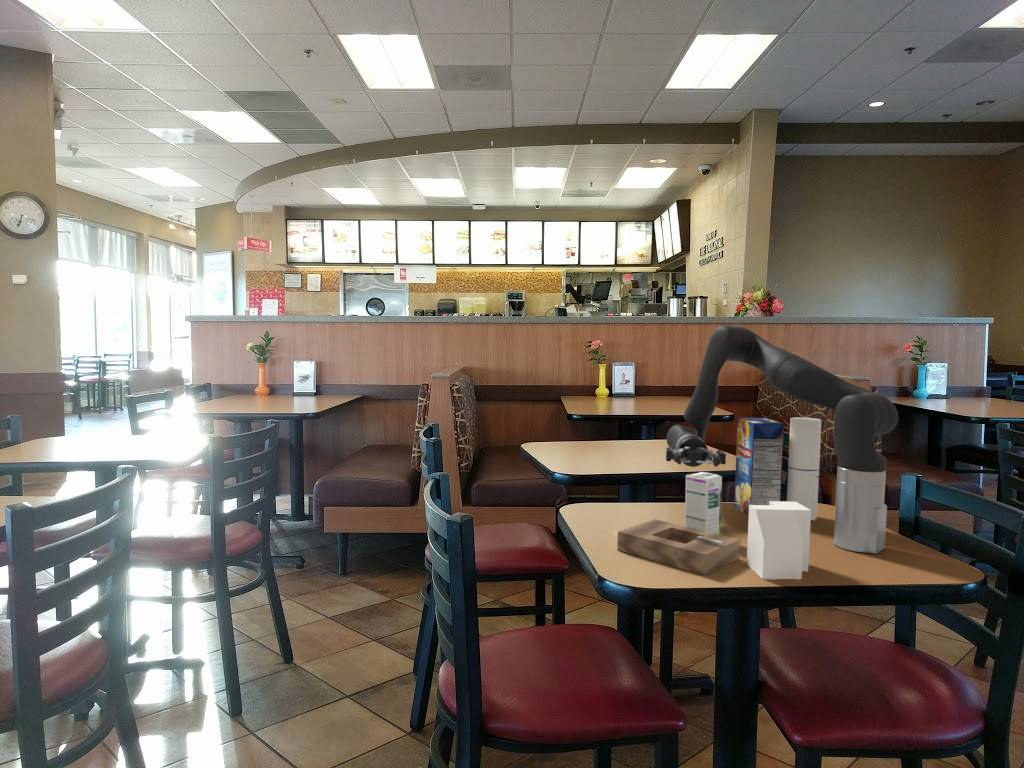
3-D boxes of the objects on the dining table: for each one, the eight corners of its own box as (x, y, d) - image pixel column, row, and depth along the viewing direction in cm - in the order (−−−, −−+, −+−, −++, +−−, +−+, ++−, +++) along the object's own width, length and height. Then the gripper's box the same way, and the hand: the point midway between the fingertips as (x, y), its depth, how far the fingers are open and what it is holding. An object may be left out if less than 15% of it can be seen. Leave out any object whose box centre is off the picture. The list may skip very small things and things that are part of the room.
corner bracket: (793, 559, 132) (795, 501, 131) (819, 580, 121) (822, 516, 120) (740, 559, 132) (743, 500, 131) (762, 579, 121) (764, 515, 120)
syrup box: (706, 544, 141) (708, 478, 140) (683, 537, 146) (685, 473, 145) (721, 539, 145) (723, 475, 144) (698, 533, 150) (700, 470, 149)
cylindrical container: (779, 514, 167) (784, 418, 165) (799, 512, 170) (804, 417, 168) (802, 521, 161) (807, 421, 159) (823, 519, 164) (827, 420, 162)
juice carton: (734, 505, 176) (737, 417, 174) (761, 506, 175) (765, 417, 174) (749, 517, 164) (753, 423, 162) (779, 518, 164) (783, 423, 162)
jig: (739, 558, 132) (740, 535, 132) (705, 575, 122) (705, 550, 122) (654, 536, 146) (654, 515, 146) (617, 550, 136) (617, 527, 136)
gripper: (664, 434, 172) (668, 444, 156) (720, 436, 170) (729, 447, 154) (663, 462, 173) (666, 474, 157) (718, 465, 171) (728, 478, 155)
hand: (698, 461), depth 156 cm, fingers open, 8 cm apart
